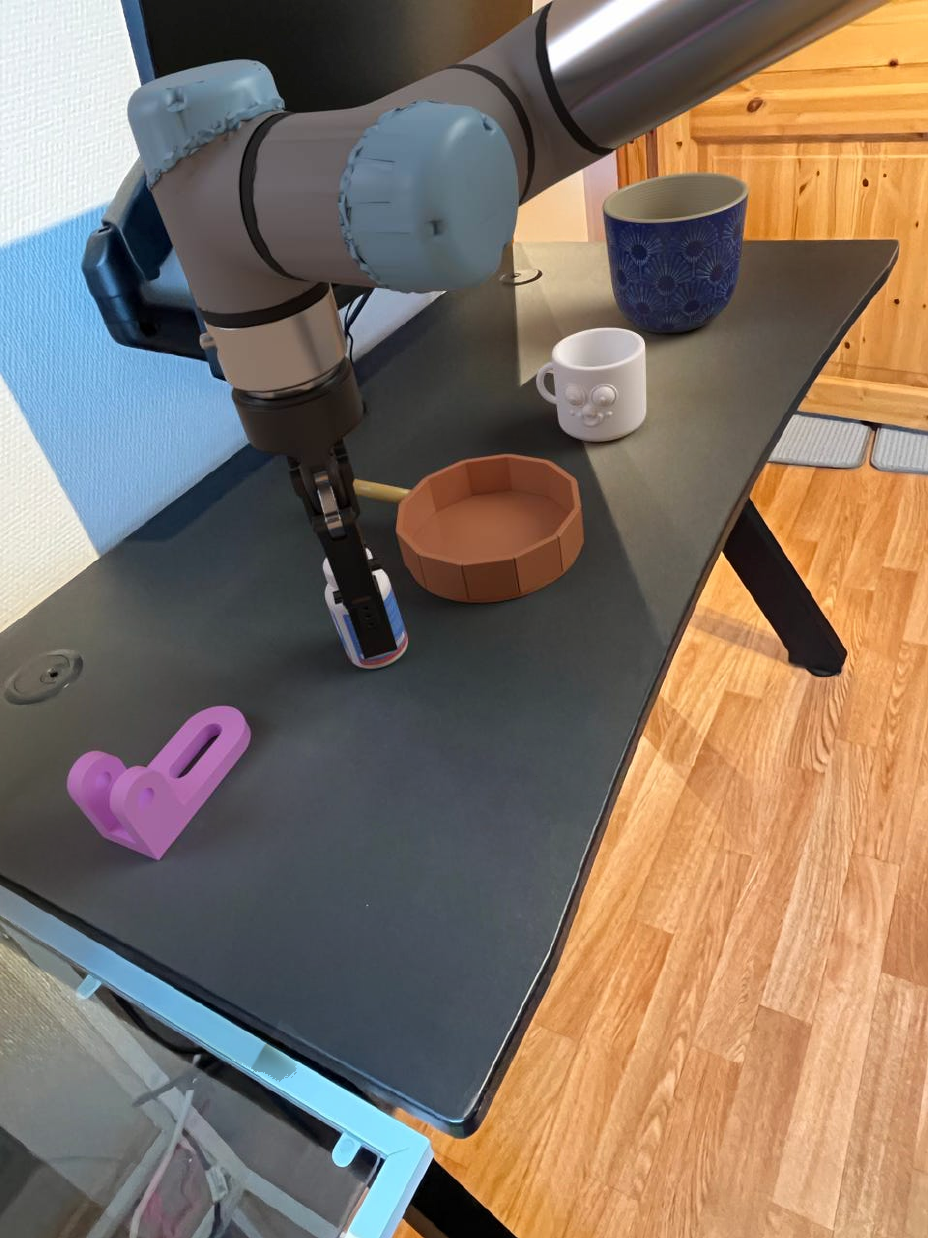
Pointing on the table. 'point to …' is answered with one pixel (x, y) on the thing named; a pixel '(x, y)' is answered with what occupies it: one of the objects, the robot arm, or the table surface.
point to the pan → (487, 526)
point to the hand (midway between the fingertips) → (379, 648)
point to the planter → (675, 248)
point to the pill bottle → (346, 627)
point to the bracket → (159, 782)
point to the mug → (598, 383)
